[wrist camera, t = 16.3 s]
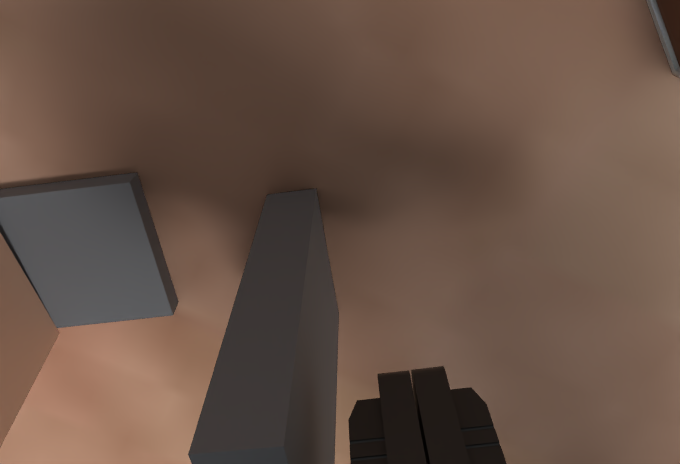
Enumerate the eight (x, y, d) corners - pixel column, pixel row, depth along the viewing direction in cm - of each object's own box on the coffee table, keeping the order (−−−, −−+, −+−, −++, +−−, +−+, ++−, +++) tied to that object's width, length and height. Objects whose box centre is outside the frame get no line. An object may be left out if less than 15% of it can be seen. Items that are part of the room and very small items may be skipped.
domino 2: (173, 315, 19) (-107, 345, 20) (183, 288, 21) (-79, 317, 21) (129, 182, 17) (-189, 220, 17) (144, 162, 18) (-150, 198, 19)
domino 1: (338, 313, 20) (330, 612, 12) (295, 318, 20) (253, 617, 12) (316, 188, 18) (283, 446, 9) (267, 194, 18) (188, 454, 9)
